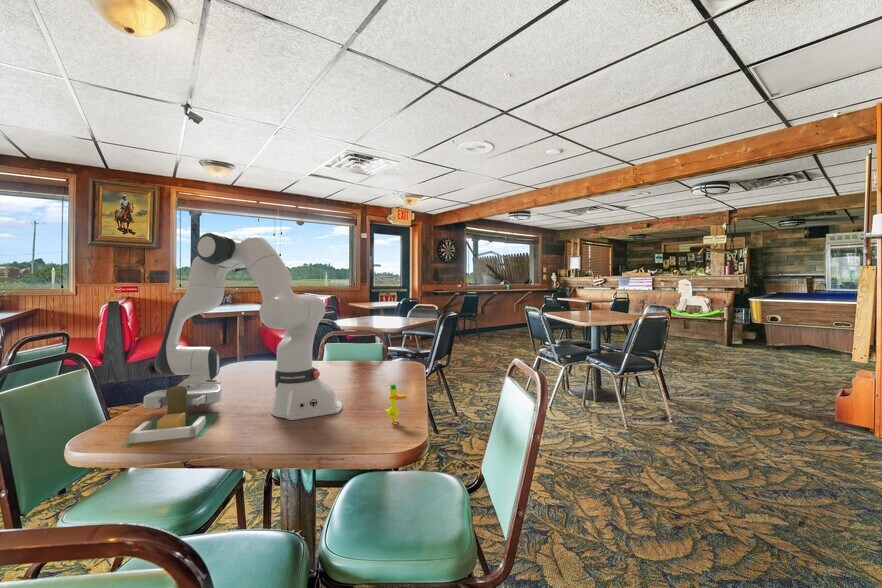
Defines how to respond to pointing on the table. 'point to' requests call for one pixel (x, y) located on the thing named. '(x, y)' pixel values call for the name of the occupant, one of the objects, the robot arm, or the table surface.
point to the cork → (177, 401)
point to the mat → (193, 418)
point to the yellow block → (172, 421)
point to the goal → (165, 432)
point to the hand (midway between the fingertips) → (176, 404)
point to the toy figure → (394, 402)
